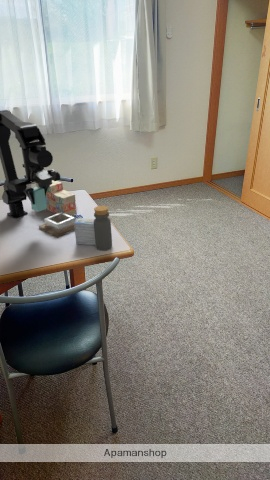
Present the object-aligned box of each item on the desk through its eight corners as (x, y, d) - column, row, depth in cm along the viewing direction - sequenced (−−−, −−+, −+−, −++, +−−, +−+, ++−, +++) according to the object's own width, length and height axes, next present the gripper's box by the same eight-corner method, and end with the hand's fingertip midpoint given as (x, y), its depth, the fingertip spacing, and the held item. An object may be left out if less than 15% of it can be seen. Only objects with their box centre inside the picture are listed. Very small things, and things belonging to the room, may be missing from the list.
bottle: (111, 251, 124) (108, 211, 117) (94, 251, 124) (91, 211, 117) (113, 243, 129) (110, 204, 122) (97, 243, 129) (93, 205, 122)
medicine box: (100, 240, 131) (98, 218, 127) (97, 246, 128) (95, 224, 124) (79, 238, 133) (77, 217, 129) (76, 244, 129) (73, 222, 125)
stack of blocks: (77, 214, 153) (74, 187, 147) (64, 219, 149) (61, 191, 143) (51, 201, 167) (47, 176, 161) (39, 205, 163) (35, 179, 157)
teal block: (32, 209, 134) (28, 189, 130) (41, 206, 137) (38, 186, 133) (37, 211, 132) (34, 191, 128) (47, 208, 134) (44, 188, 131)
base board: (39, 228, 141) (38, 225, 141) (63, 218, 149) (62, 216, 149) (57, 237, 134) (57, 234, 134) (81, 226, 142) (81, 224, 142)
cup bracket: (45, 225, 141) (44, 218, 140) (62, 218, 147) (61, 212, 145) (58, 231, 136) (57, 224, 135) (75, 224, 142) (74, 217, 140)
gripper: (20, 171, 115) (28, 216, 122) (67, 159, 127) (71, 200, 134) (3, 165, 122) (11, 207, 129) (49, 154, 134) (54, 194, 141)
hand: (38, 202), depth 133 cm, fingers closed on teal block, 4 cm apart
